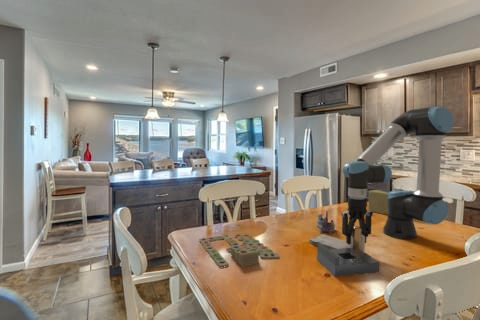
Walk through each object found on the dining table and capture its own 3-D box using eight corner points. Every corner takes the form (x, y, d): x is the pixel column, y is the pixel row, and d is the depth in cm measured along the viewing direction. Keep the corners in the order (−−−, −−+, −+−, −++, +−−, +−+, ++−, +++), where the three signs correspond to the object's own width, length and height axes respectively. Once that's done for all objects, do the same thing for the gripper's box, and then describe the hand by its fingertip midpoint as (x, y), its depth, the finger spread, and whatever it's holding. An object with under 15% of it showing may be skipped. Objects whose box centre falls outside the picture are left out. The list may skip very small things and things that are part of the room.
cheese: (407, 217, 171) (408, 194, 170) (397, 219, 167) (398, 195, 166) (377, 209, 191) (377, 189, 190) (367, 211, 187) (368, 190, 186)
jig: (356, 256, 113) (357, 240, 112) (379, 272, 99) (379, 254, 98) (317, 259, 109) (317, 243, 109) (334, 276, 96) (335, 257, 95)
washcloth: (321, 238, 135) (321, 232, 135) (355, 249, 121) (355, 242, 121) (307, 243, 128) (307, 237, 128) (341, 256, 114) (341, 249, 114)
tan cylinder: (357, 252, 117) (358, 225, 116) (362, 256, 113) (363, 228, 112) (349, 252, 116) (349, 226, 115) (354, 256, 112) (355, 229, 112)
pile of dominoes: (282, 259, 111) (282, 246, 111) (221, 272, 100) (221, 258, 100) (247, 233, 143) (247, 223, 142) (198, 241, 132) (197, 230, 131)
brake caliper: (339, 230, 139) (325, 211, 141) (321, 240, 142) (308, 221, 144) (339, 224, 149) (326, 206, 151) (323, 233, 153) (310, 216, 155)
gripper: (343, 200, 108) (341, 255, 109) (382, 198, 111) (380, 252, 112) (333, 196, 115) (332, 248, 117) (370, 195, 118) (369, 245, 120)
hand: (356, 250), depth 115 cm, fingers open, 5 cm apart
